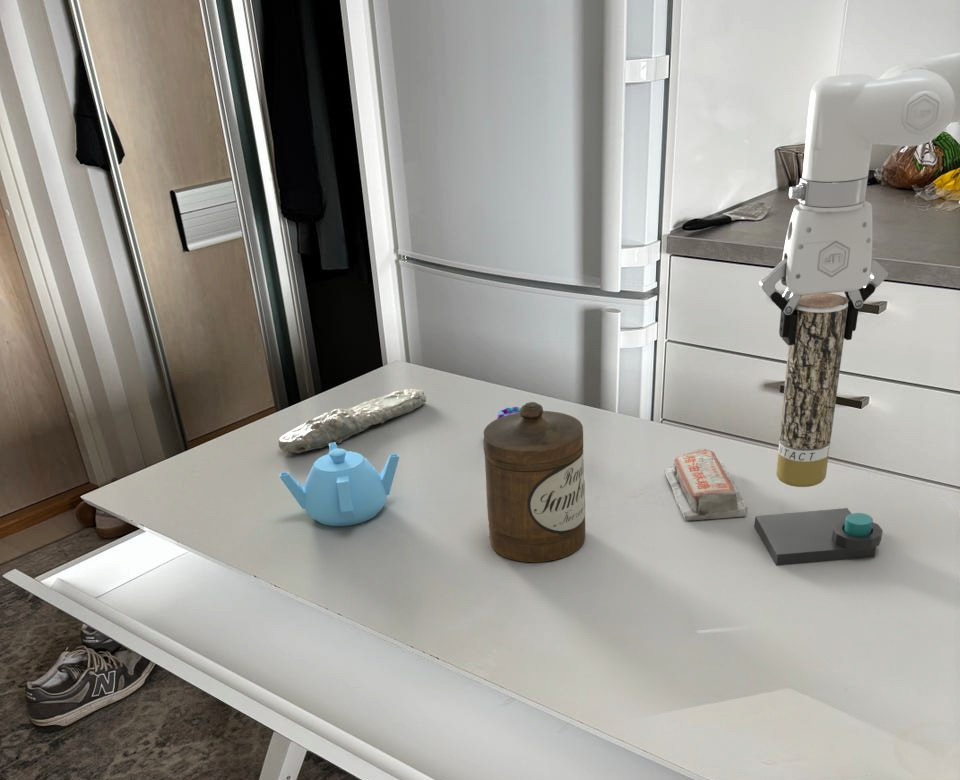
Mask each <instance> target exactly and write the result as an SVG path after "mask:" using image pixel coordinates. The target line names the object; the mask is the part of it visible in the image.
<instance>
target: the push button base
mask: <svg viewBox="0 0 960 780" xmlns="http://www.w3.org/2000/svg"><path fill="white" fill-rule="evenodd" d="M849 514H852V512H851V511H850V509H849V508H848V507H844V508H834V509H833V508H831V509H819V510H809V511H798V512H796V511H795V512H787V513H774V514H773V513H772V514H762V515H755V516H754V524H753V526H754V529H755V531H756V532H757V534H758V536H759V538H760V540H761V541H762V543H763V545H764V547H765V548H766V550H767V552H768V553H769V555H770V557H771V559H772V561H773V563H774V564H775V566H778V567H779V566H790V565H803V564H812V563H813V564H814V563H824V562H825V563H826V562H837V561H849V560H859V559H871V558H872V559H873V558H875V557H876V551H877V547H879V546H880V545H881V541H882V536H883V531H884V530H883V528H882V527H881V526H880V525H879V524H878V523H876V522H874V521H873V523H872V529H871V533H870V535H868V536H853V535H849V534H847V533H845V531H844V528H845V521H846V517H847V516H848V515H849Z"/></svg>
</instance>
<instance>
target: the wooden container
mask: <svg viewBox="0 0 960 780" xmlns="http://www.w3.org/2000/svg"><path fill="white" fill-rule="evenodd" d="M519 408H520V413H514V414H510V415H507V416H503V417H501V418H498V419H497V418H496V419H494V420H492V421H491V422H489V423H488V424H487V425H486V426H485V428H484V429H483V432H482V433H483V435H482V445H483V453H484V467H485V468H484V471H485V490H486V493H485V494H486V507H487V508H486V509H487V510H486V511H487V521H488V534H489V543H490V547H491V548H492V550H493V551H494V552H495V553H497V554H498V555H499V556H502V557H504V558H506V559H509V560H512V561H518V562H523V563H524V562H525V563H543V562H551V561H556V560H559V559H562V558H565V557H567V556H571V554H574V553H575V552H577V551H578V550H579V549H580V548H581V547H582V546H583V545H584V543H585V540H586V481H585V460H584V459H585V458H584V427H583V424H582V422H581V421H580V420H579V419H577V418H576V417H575V416H572V415H569V414H567V413H563V412H557V411H551V410H544V408H543V406H542V405H541V404H540V403H538V402H535V401H529V402H526V403H524V404H523V405H522V406H521V407H519Z"/></svg>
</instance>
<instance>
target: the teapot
mask: <svg viewBox="0 0 960 780" xmlns="http://www.w3.org/2000/svg"><path fill="white" fill-rule="evenodd" d="M337 444H338V443H337ZM337 444H336V442H334V443H329V445H328V448H329V452H328V453H327V454H324V455H322V456H320V457H318V458H317V459H316V460H315V461H314V463H313V464H312V466H311V468H310V471H309V473H308V475H307V477H306V481H305V483H304V485H302V484H301V483H300V482H299V481H298V480H297V479H296V478H294V476H293V475H292V474H291V473H290V471H284V472H280V473H279V474H278V475H279V478H280V480H281V481H282V482H283V484H284V486H285V487H286V488H287V489H288V491H289V492H290V494H291V495H292V497H294V499H295V501H296V502H297V503H298V505H299V506H300V507H301V509H303V510H305V512H306V513H307V515H308V516H309V517H310V518H312V519H313V520H315V521H316V522H318V523H319V524H322V525H325V526H329V527H349V526H354V525H358V524H359V525H360V524H362V523H365V522H367V521H369V520H371V519H373V518H374V517H376V516H377V515H379V513H380V511H381V510H382V509H383V507H384V506H385V504H386V502H387V498H388V496H390V493H391V489H392V485H393V481H394V478H395V474H396V472H397V467H398V464H399V460H400V453H391V454H389V455H388V458H387V460H386V462H385V464H384V466H383V468H382V471H381V472H380V473H379V472H378V471H377V470H376V468H375V467H374V466H373V465H372V464H371V463H370V461H369V460H368V459H367V458H366V457H364V456H363V455H362V454H361V453H359V452H356V451H350V450H349V451H348V450H346V449H344V448H339V447H338V445H337Z"/></svg>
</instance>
